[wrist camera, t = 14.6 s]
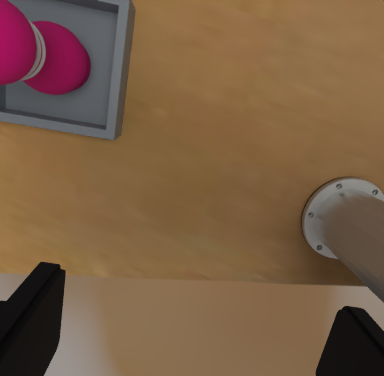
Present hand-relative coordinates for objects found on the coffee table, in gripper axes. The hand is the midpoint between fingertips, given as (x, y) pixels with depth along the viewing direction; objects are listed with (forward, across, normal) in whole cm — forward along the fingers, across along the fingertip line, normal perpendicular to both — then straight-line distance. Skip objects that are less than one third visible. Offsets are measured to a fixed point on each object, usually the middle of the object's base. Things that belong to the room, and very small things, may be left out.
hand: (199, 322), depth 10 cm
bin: (+32, +16, -9) cm, 37 cm away
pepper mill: (+32, +16, -9) cm, 36 cm away
